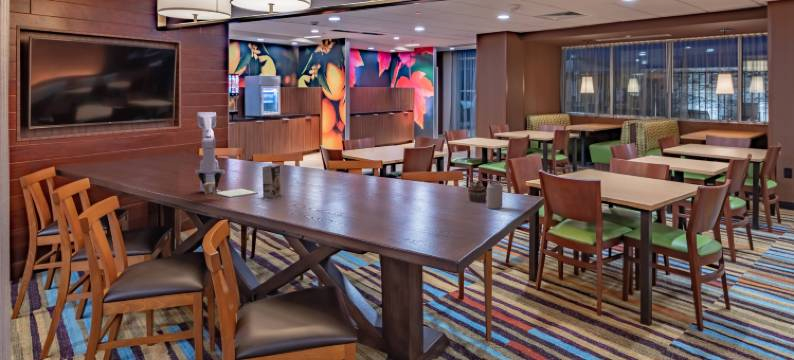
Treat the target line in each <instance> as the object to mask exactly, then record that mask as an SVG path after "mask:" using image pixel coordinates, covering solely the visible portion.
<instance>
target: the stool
mask: <svg viewBox="0 0 794 360" xmlns="http://www.w3.org/2000/svg"><path fill="white" fill-rule="evenodd" d="M209 187H212V192H211V193H212V196H215V195H217V190H218V188H215V183H205V184H204V190H205V192H204V196H207V195H209V194H210V193H209Z"/></svg>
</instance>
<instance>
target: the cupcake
mask: <svg viewBox="0 0 794 360" xmlns="http://www.w3.org/2000/svg"><path fill="white" fill-rule="evenodd" d="M467 192H468V198H469V202H471V203H486V201H487V187H486V186H485V185H483V183H481V181H480V180H478V181H476V182H475V181H471V182H470V185H469V186H468V190H467Z"/></svg>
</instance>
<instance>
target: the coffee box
mask: <svg viewBox="0 0 794 360" xmlns="http://www.w3.org/2000/svg"><path fill="white" fill-rule="evenodd" d="M262 196H263V198H276V197H279V196H281V165H277V164H276V165H275V164H274V165H273V164H272V165H270V164H269V165H266V166H265V165H264V166H263V167H262Z"/></svg>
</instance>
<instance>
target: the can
mask: <svg viewBox="0 0 794 360" xmlns="http://www.w3.org/2000/svg"><path fill="white" fill-rule="evenodd" d="M503 189H504V187H503V185H502V183H500V182H489V183H488V184H487V186H486V191H487V196H486V201H485V203H486V204H485V205H486V207H487V208H488V209H489V210H499V209H500V210H501V208H502V207H503V193H504V192H503Z"/></svg>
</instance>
